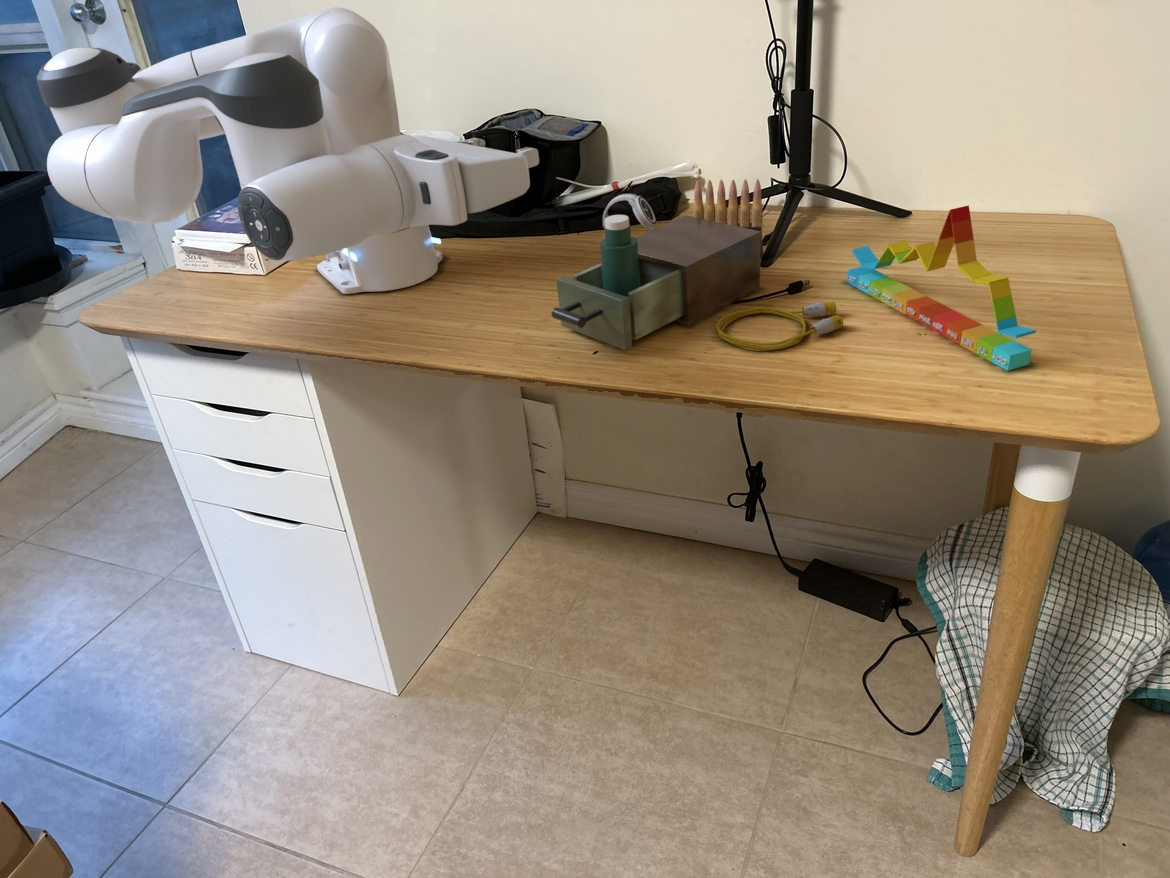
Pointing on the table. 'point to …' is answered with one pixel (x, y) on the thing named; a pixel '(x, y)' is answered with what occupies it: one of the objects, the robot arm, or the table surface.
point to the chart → (938, 314)
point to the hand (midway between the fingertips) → (507, 150)
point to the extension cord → (810, 310)
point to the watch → (636, 210)
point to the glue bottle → (619, 256)
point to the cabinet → (706, 262)
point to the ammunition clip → (731, 206)
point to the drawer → (620, 304)
